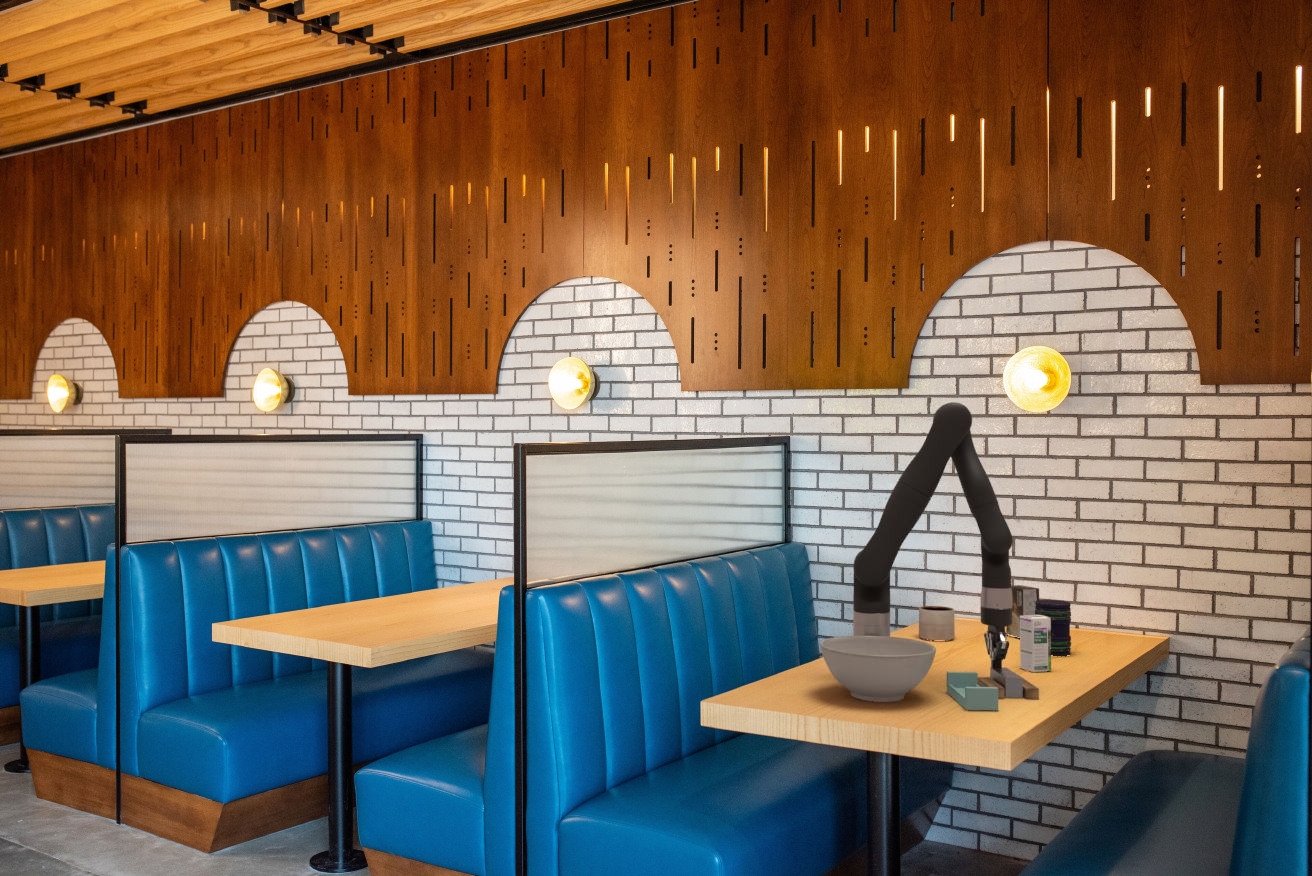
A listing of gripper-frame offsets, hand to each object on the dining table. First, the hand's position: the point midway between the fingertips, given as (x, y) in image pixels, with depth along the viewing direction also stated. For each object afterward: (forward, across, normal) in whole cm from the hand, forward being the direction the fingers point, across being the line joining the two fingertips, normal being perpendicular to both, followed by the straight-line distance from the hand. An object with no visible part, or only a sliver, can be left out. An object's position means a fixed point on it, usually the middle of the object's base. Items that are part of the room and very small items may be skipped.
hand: (996, 674), depth 257 cm
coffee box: (+3, -70, +30) cm, 76 cm away
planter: (+3, -66, +2) cm, 66 cm away
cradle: (+2, +18, -11) cm, 21 cm away
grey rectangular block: (+3, +8, 0) cm, 8 cm away
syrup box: (+3, -19, +16) cm, 25 cm away
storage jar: (+3, -43, +29) cm, 52 cm away
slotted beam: (+2, +9, 0) cm, 9 cm away
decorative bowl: (+3, +14, -32) cm, 35 cm away
